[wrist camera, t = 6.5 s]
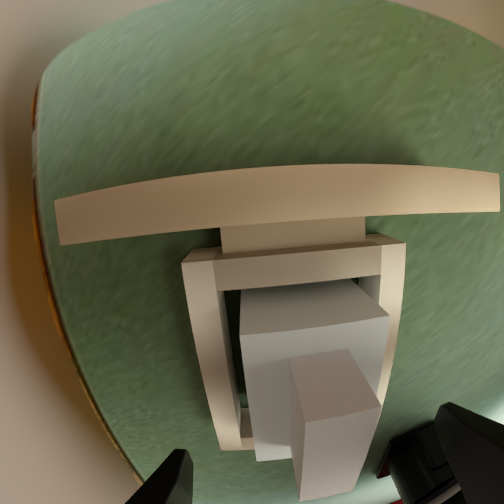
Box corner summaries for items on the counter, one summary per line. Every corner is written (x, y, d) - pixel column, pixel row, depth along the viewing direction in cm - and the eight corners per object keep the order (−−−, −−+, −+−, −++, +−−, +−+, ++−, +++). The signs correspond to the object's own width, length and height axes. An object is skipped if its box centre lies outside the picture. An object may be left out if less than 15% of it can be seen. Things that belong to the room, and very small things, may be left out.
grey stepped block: (337, 383, 15) (383, 490, 7) (253, 394, 15) (259, 514, 7) (343, 272, 13) (437, 361, 5) (241, 283, 13) (237, 400, 5)
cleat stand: (408, 390, 15) (441, 437, 10) (170, 420, 15) (154, 479, 10) (432, 173, 12) (498, 173, 7) (116, 194, 12) (54, 200, 7)
